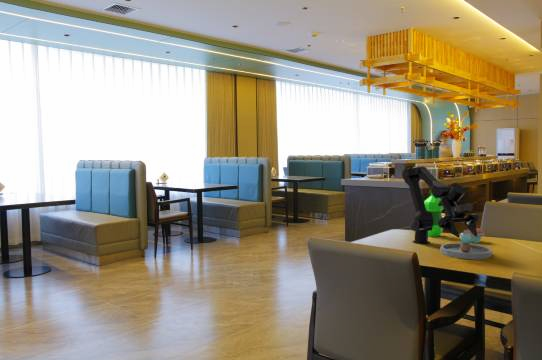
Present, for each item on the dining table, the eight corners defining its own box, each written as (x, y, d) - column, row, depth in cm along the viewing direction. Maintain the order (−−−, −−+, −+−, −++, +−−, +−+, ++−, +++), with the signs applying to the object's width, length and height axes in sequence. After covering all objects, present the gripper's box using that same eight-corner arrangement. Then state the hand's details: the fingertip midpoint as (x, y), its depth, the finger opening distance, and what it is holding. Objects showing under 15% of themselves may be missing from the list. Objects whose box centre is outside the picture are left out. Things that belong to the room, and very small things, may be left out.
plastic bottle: (433, 238, 239) (434, 191, 238) (419, 234, 249) (419, 189, 247) (447, 236, 244) (448, 190, 242) (432, 233, 253) (433, 188, 251)
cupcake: (463, 240, 234) (463, 217, 234) (479, 239, 234) (480, 216, 234) (470, 243, 226) (471, 219, 225) (487, 243, 226) (488, 219, 225)
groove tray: (458, 246, 219) (458, 241, 219) (501, 254, 202) (501, 249, 201) (430, 252, 207) (431, 246, 207) (473, 261, 190) (473, 255, 190)
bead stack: (460, 252, 203) (461, 228, 202) (473, 253, 200) (473, 229, 199) (457, 254, 199) (457, 230, 198) (469, 256, 195) (470, 231, 195)
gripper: (442, 197, 198) (459, 226, 189) (477, 196, 204) (495, 224, 194) (430, 213, 206) (446, 241, 197) (464, 211, 212) (481, 239, 202)
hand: (467, 236), depth 197 cm, fingers open, 9 cm apart
